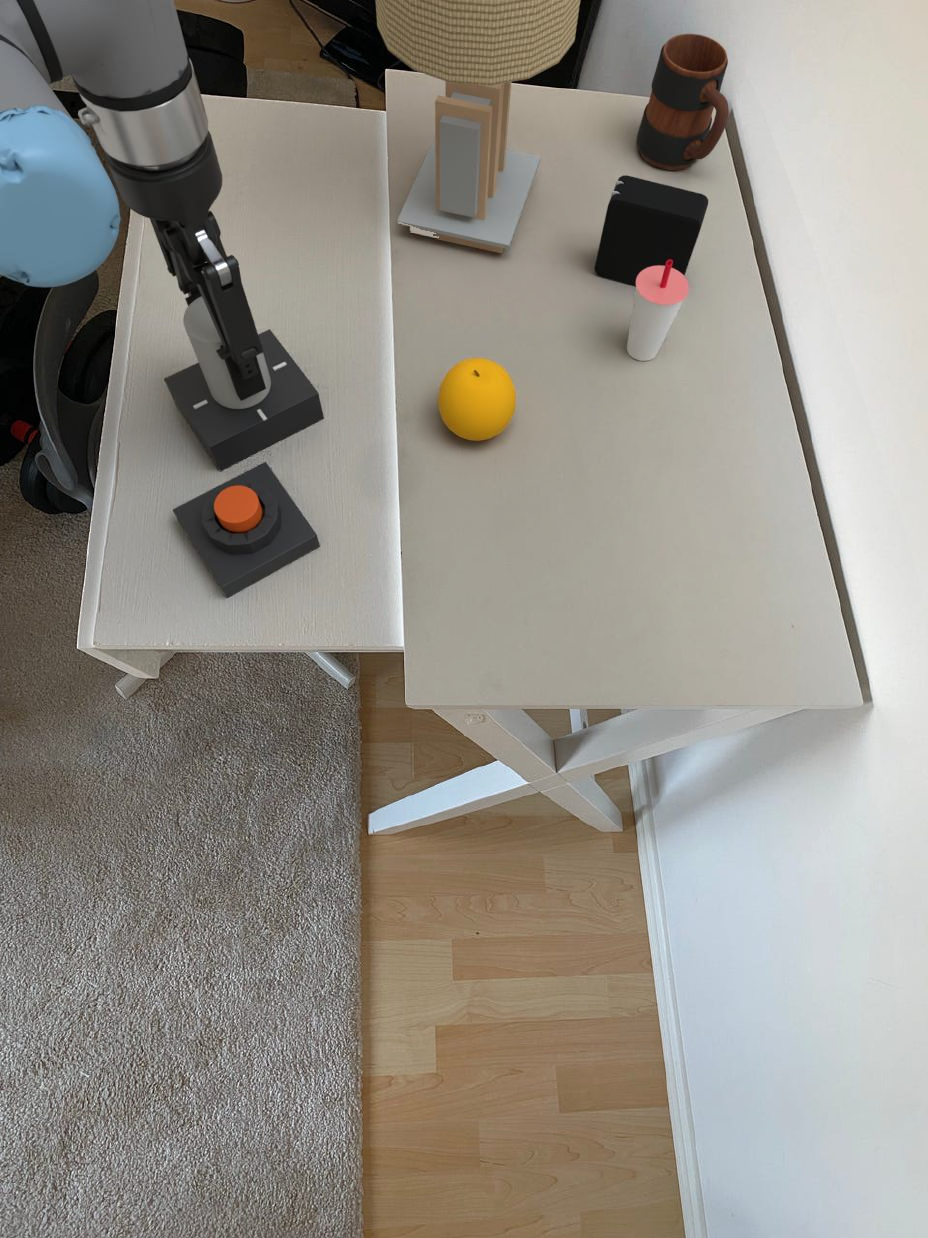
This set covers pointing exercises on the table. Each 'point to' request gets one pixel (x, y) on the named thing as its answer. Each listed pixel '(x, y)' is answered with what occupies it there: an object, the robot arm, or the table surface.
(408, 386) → the table surface
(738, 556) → the table surface
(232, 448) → the dial panel
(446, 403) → the yellow orange fruit
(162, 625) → the table surface
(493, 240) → the desk lamp
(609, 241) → the electronic device
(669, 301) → the cup
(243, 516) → the power button
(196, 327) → the timer dial
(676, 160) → the mug
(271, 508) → the button base
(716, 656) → the table surface
